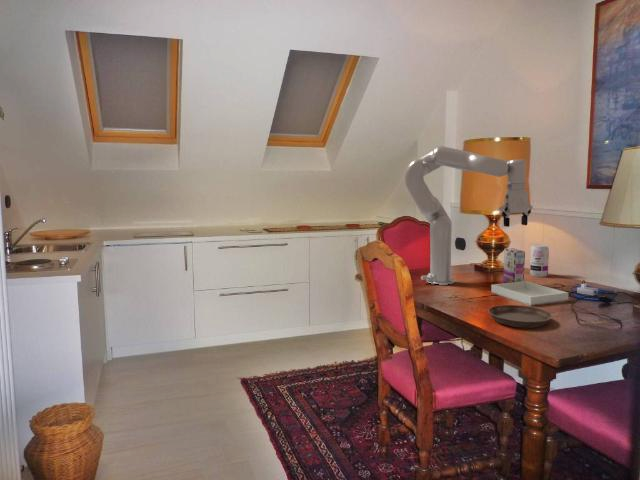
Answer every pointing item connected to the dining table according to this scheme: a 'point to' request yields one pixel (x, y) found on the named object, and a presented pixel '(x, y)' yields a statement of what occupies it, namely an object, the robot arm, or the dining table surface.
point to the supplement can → (539, 260)
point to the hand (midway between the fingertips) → (515, 225)
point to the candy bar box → (513, 265)
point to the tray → (529, 293)
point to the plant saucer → (520, 316)
